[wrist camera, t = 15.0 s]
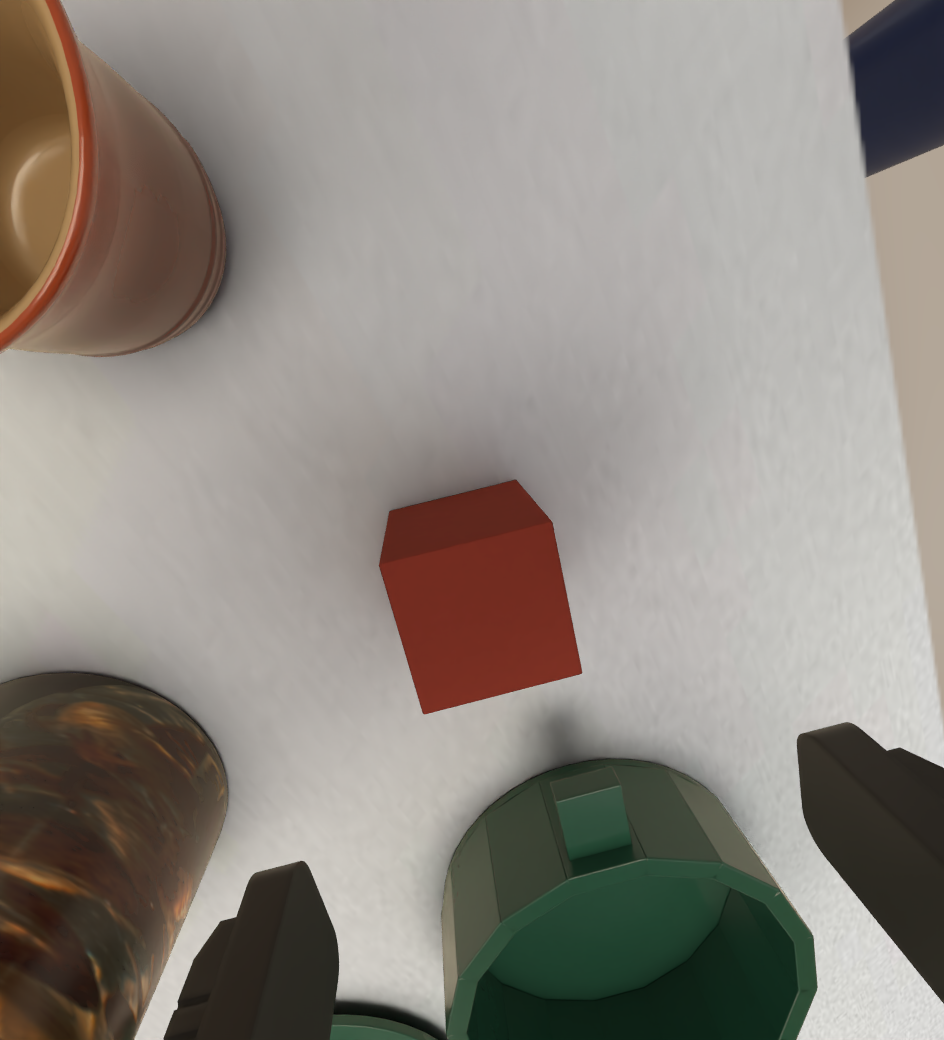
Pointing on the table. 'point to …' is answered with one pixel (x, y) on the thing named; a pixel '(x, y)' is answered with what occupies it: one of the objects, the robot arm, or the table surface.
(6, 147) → the mug
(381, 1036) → the pot lid
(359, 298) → the table surface
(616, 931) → the pot
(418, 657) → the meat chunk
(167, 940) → the jar
